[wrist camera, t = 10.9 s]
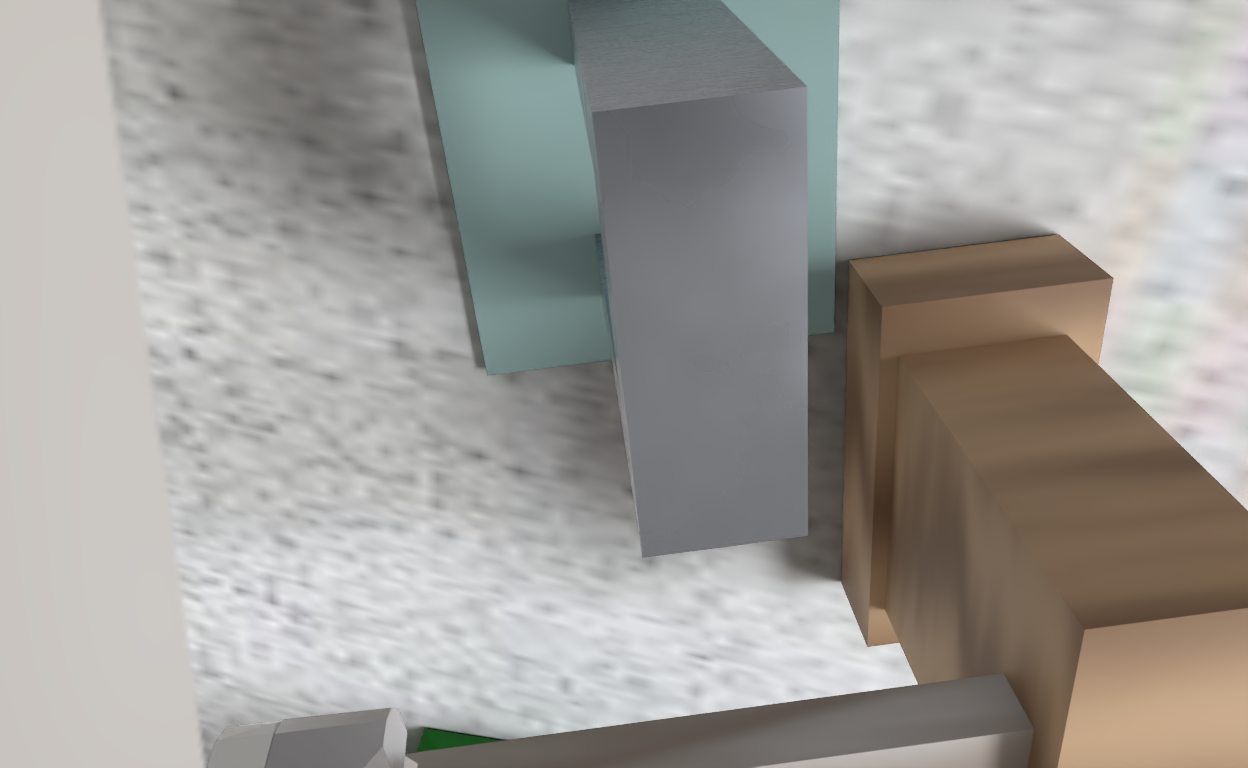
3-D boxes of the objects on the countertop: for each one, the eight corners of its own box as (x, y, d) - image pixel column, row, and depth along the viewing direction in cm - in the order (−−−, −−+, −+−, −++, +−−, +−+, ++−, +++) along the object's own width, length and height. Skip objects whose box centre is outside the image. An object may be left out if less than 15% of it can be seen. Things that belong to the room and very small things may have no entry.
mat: (399, -91, 22) (398, -89, 22) (837, -140, 23) (841, -139, 22) (487, 368, 28) (487, 375, 28) (830, 325, 29) (834, 332, 28)
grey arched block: (564, -14, 23) (591, 111, 14) (692, -29, 23) (807, 85, 14) (601, 295, 27) (642, 557, 18) (709, 281, 27) (808, 535, 18)
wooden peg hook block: (364, 320, 27) (244, 699, 16) (1058, 234, 28) (1441, 541, 16) (445, 635, 33) (402, 1075, 22) (1013, 560, 34) (1267, 951, 22)
